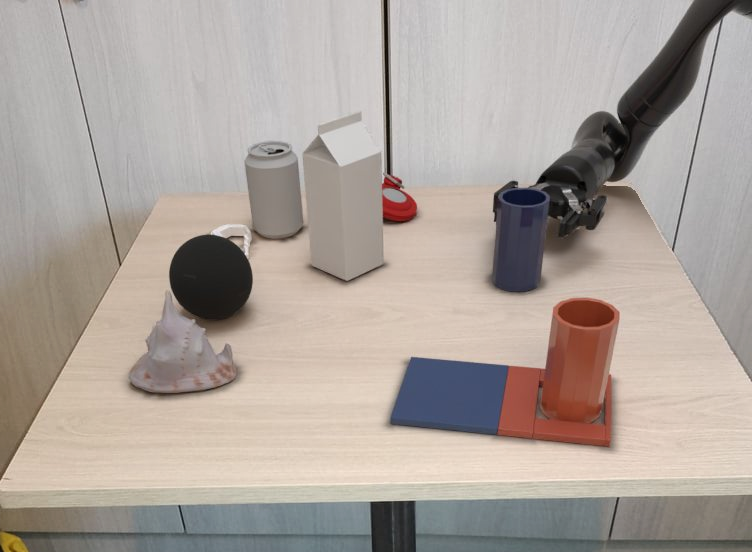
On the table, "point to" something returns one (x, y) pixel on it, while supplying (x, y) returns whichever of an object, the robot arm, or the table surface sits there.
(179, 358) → the seashell
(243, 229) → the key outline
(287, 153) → the can
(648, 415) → the table surface
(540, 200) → the blue cup
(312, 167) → the milk carton
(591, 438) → the sorting board
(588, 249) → the table surface
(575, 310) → the red cup
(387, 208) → the tracker holder
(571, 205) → the robot arm
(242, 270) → the speaker
